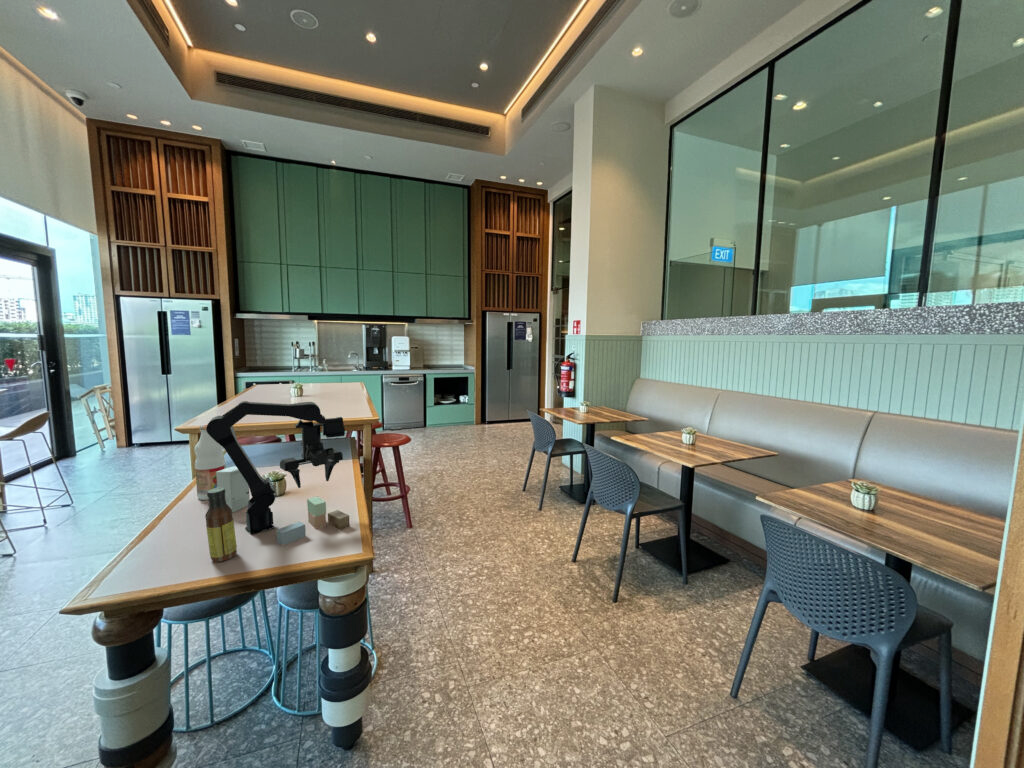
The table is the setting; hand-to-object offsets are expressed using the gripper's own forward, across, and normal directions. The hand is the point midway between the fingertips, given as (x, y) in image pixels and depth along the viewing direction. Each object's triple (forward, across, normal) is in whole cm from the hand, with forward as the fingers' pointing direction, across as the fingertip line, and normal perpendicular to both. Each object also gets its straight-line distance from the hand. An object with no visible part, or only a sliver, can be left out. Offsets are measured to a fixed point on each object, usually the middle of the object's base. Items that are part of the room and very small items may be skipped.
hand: (313, 484), depth 139 cm
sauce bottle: (+12, -28, -8) cm, 32 cm away
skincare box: (+12, -17, +30) cm, 36 cm away
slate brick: (+12, -11, -10) cm, 19 cm away
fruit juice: (+12, -20, +50) cm, 55 cm away
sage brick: (+8, -1, -5) cm, 9 cm away
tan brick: (+12, -1, -5) cm, 13 cm away
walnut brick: (+12, +3, -12) cm, 17 cm away
